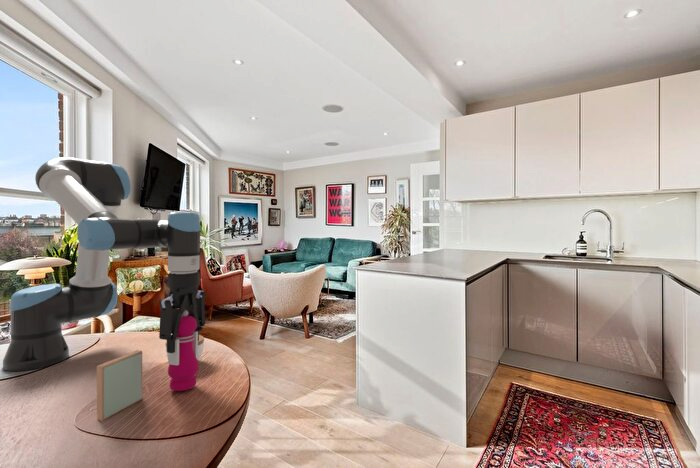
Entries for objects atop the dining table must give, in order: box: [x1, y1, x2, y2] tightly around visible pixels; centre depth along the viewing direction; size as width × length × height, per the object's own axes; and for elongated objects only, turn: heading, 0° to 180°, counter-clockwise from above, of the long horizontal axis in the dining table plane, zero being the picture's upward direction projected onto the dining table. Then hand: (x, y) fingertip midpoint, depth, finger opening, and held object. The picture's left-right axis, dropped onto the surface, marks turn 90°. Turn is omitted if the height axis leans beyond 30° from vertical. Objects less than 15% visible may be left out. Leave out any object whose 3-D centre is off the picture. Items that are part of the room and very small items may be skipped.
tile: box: [96, 349, 143, 422], centre depth 79 cm, size 2×10×12 cm, turn 163°
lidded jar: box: [165, 334, 205, 362], centre depth 104 cm, size 11×11×9 cm
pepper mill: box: [167, 309, 200, 392], centre depth 88 cm, size 7×7×20 cm
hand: (183, 359), depth 88 cm, fingers closed on pepper mill, 6 cm apart
